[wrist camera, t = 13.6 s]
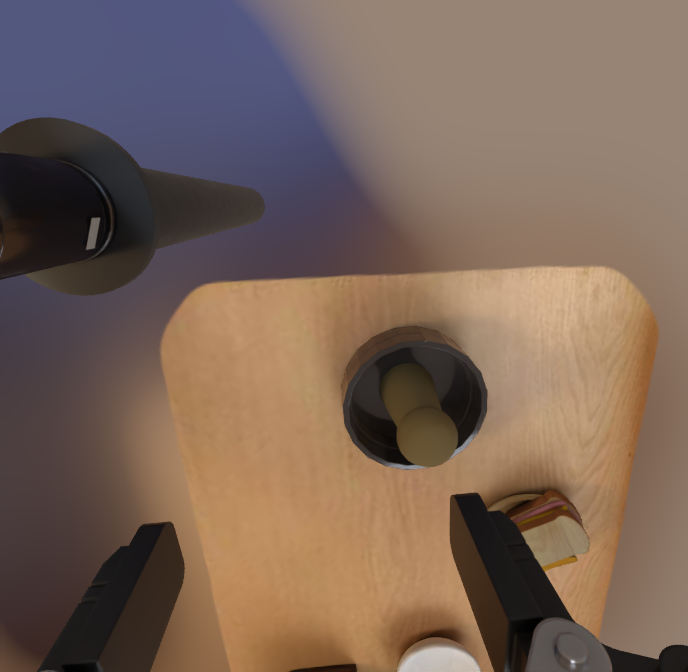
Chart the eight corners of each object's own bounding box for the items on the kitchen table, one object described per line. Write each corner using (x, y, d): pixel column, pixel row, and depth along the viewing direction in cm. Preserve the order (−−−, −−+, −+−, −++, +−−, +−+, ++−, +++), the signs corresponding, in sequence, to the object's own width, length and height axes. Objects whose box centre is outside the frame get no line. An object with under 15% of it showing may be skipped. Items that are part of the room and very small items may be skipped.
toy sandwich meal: (453, 514, 49) (466, 545, 45) (554, 468, 48) (578, 496, 43) (490, 577, 53) (505, 612, 48) (585, 537, 51) (610, 569, 47)
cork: (406, 352, 41) (432, 402, 31) (445, 386, 43) (483, 444, 32) (367, 391, 43) (380, 452, 32) (406, 422, 44) (431, 491, 34)
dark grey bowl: (347, 447, 45) (349, 475, 41) (336, 331, 41) (337, 348, 36) (468, 435, 46) (484, 462, 41) (471, 319, 41) (490, 334, 36)
